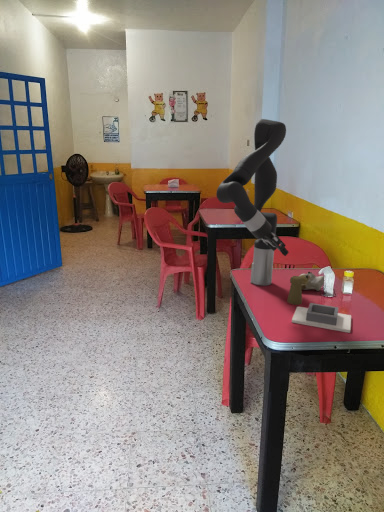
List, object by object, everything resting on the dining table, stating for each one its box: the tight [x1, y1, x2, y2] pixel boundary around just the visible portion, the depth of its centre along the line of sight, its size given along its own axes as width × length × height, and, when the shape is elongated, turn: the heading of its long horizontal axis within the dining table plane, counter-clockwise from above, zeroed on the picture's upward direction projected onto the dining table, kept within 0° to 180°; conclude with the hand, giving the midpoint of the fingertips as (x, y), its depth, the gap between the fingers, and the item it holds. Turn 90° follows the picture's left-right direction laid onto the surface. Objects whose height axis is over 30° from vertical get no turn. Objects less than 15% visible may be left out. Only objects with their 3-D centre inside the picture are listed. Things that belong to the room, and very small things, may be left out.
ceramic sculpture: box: [290, 271, 325, 292], centre depth 178 cm, size 11×9×15 cm
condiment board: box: [291, 302, 352, 334], centre depth 147 cm, size 20×14×4 cm
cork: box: [286, 275, 303, 306], centre depth 162 cm, size 6×6×11 cm
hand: (280, 251), depth 155 cm, fingers open, 8 cm apart
